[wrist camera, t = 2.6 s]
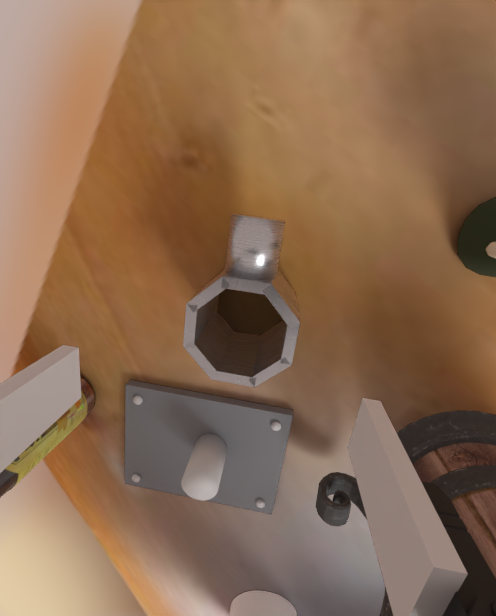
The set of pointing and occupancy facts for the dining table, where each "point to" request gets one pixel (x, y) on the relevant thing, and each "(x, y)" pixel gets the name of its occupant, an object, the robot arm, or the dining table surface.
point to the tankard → (438, 475)
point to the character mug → (479, 240)
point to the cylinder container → (261, 605)
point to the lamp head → (250, 278)
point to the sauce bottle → (48, 439)
